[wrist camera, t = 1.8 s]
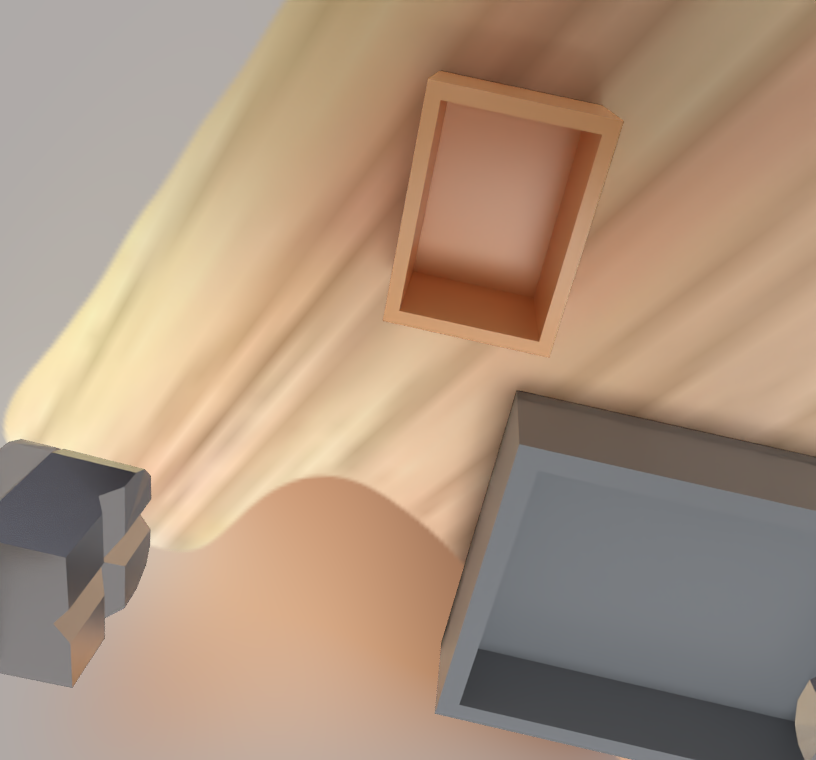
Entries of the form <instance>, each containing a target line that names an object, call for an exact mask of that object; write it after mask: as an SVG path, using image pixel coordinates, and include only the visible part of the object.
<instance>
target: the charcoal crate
mask: <svg viewBox="0 0 816 760" xmlns="http://www.w3.org/2000/svg"><path fill="white" fill-rule="evenodd" d="M814 677H816V457H812V456H808V455H803V454H799V453H794V452H790V451H785V450H781V449H776V448H772V447H767V446H763V445H758V444H754V443H749V442H745V441H741V440H736V439H732V438H727V437H723V436H718V435H714V434H709V433H705V432H700V431H696V430H691V429H687V428H682V427H678V426H673V425H669V424H664V423H660V422H655V421H651V420H647V419H642V418H638V417H633V416H629V415H624V414H620V413H615V412H611V411H606V410H602V409H597V408H593V407H588V406H584V405H579V404H575V403H570V402H566V401H562V400H557V399H553V398H548V397H544V396H539V395H535V394H530V393H526V392H521V391H517V392H516V395H515V398H514V402H513V405H512V408H511V412H510V415H509V418H508V422H507V425H506V428H505V432H504V435H503V438H502V442H501V445H500V448H499V452H498V455H497V458H496V462H495V465H494V468H493V472H492V475H491V479H490V482H489V485H488V489H487V492H486V495H485V499H484V502H483V505H482V509H481V512H480V515H479V519H478V522H477V525H476V529H475V532H474V535H473V539H472V542H471V545H470V549H469V552H468V555H467V559H466V562H465V565H464V569H463V572H462V576H461V579H460V582H459V586H458V589H457V592H456V596H455V599H454V602H453V606H452V609H451V612H450V616H449V619H448V623H447V626H446V629H445V633H444V636H443V639H442V643H441V654H440V665H439V676H438V685H437V696H436V707H435V714H439V715H443V716H448V717H452V718H456V719H460V720H465V721H469V722H473V723H478V724H482V725H486V726H491V727H495V728H499V729H503V730H507V731H512V732H516V733H520V734H525V735H529V736H533V737H538V738H542V739H546V740H550V741H555V742H559V743H563V744H568V745H572V746H576V747H581V748H585V749H589V750H593V751H598V752H602V753H607V754H610V755H615V756H619V757H623V758H628V759H632V760H804V757H803V755H802V752H801V750H800V747H799V745H798V740H797V734H796V728H795V718H796V709H797V701H798V699H799V697H800V695H801V694H802V692H803V690H804V689H805V687H806V685H807V683H808V682H809V680H810V679H812V678H814Z"/></svg>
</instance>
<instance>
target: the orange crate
mask: <svg viewBox="0 0 816 760" xmlns="http://www.w3.org/2000/svg"><path fill="white" fill-rule="evenodd" d="M623 123H624V121H623V120H622V119H620V118H619V117H618V116H616V115H615V114H613V113H612V112H611V111H609V110H608V109H606V108H605V107H604V106H602V105H598V104H594V103H589V102H584V101H580V100H575V99H570V98H566V97H561V96H556V95H552V94H547V93H542V92H538V91H533V90H528V89H524V88H519V87H515V86H510V85H505V84H501V83H496V82H491V81H487V80H482V79H477V78H473V77H468V76H463V75H459V74H454V73H449V72H445V71H439V72H437V73H436V74H434V75H433V76H431V77H430V78H428V80H427V86H426V91H425V97H424V102H423V107H422V113H421V118H420V124H419V129H418V134H417V140H416V145H415V150H414V156H413V161H412V167H411V172H410V177H409V183H408V188H407V193H406V199H405V204H404V210H403V215H402V220H401V226H400V231H399V236H398V242H397V247H396V253H395V258H394V263H393V269H392V274H391V280H390V285H389V290H388V296H387V301H386V306H385V312H384V317H383V321H386V322H391V323H395V324H400V325H404V326H409V327H413V328H418V329H422V330H427V331H431V332H436V333H440V334H445V335H449V336H454V337H458V338H463V339H467V340H472V341H476V342H481V343H485V344H490V345H494V346H499V347H503V348H508V349H512V350H517V351H521V352H526V353H530V354H535V355H539V356H544V357H548V358H549V357H550V354H551V351H552V347H553V344H554V341H555V338H556V335H557V332H558V328H559V325H560V322H561V319H562V316H563V313H564V309H565V306H566V303H567V300H568V297H569V294H570V290H571V287H572V284H573V281H574V278H575V275H576V271H577V268H578V265H579V262H580V259H581V256H582V252H583V249H584V246H585V243H586V240H587V237H588V233H589V230H590V227H591V224H592V221H593V218H594V214H595V211H596V208H597V205H598V202H599V199H600V195H601V192H602V189H603V186H604V183H605V180H606V176H607V173H608V170H609V167H610V164H611V161H612V157H613V154H614V151H615V148H616V145H617V142H618V138H619V135H620V132H621V129H622V126H623Z"/></svg>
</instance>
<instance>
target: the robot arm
mask: <svg viewBox="0 0 816 760" xmlns="http://www.w3.org/2000/svg"><path fill="white" fill-rule="evenodd" d="M150 500H151V476H150V475H149V473H148V472H147V471H146V470H145V469H142V468H138V467H134V466H130V465H126V464H122V463H118V462H114V461H110V460H106V459H102V458H98V457H94V456H90V455H86V454H82V453H78V452H74V451H70V450H66V449H59V448H56V447H52V446H48V445H44V444H40V443H35V442H31V441H27V440H23V439H20V440H15V441H11V442H8V443H7V444H5V445H4V446H3V447H2V448H0V673H2V674H7V675H11V676H16V677H21V678H26V679H31V680H36V681H41V682H46V683H51V684H56V685H61V686H66V687H71V688H72V687H73V686H74V685H75V683H76V682H77V680H78V678H79V677H80V675H81V674H82V672H83V671H84V669H85V668H86V666H87V665H88V663H89V662H90V660H91V659H92V657H93V656H94V654H95V653H96V651H97V650H98V648H99V647H100V645H101V643H102V642H103V640H104V639H105V618H106V617H108V616H110V615H112V614H114V613H116V612H118V611H120V610H122V609H124V608H125V606H126V605H127V603H128V602H129V600H130V598H131V597H132V595H133V594H134V592H135V590H136V589H137V586H138V584H139V581H140V578H141V576H142V573H143V571H144V569H145V566H146V562H147V557H148V552H149V547H150V528H149V526H148V525H147V523H146V522H145V521H144V519H143V518H142V516H141V515H140V514H141V512H142V511H143V510H144V508H145V507H146V505H147V504H148V503H149V501H150ZM795 728H796V734H797V740H798V745H799V747H800V750H801V752H802V755H803V757H804V760H816V677H814V678H812V679H810V680H809V682H808V683H807V685H806V687H805V689H804V690H803V692H802V694H801V695H800V697H799V699H798V701H797V709H796V718H795Z"/></svg>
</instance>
